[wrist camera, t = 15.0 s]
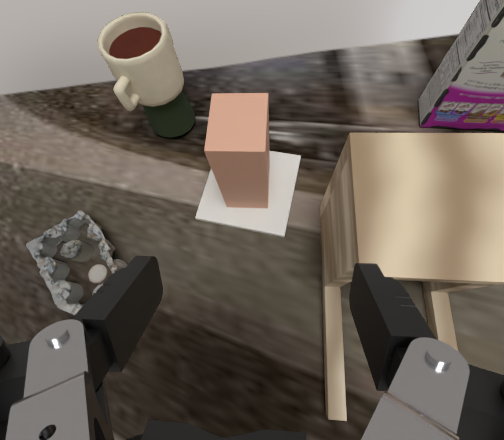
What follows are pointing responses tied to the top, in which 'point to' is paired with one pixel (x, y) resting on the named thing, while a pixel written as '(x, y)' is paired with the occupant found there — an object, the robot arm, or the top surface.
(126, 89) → the character mug
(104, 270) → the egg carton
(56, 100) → the top surface
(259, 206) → the block
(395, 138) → the shelf lane
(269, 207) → the mat
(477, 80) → the candy bar box
